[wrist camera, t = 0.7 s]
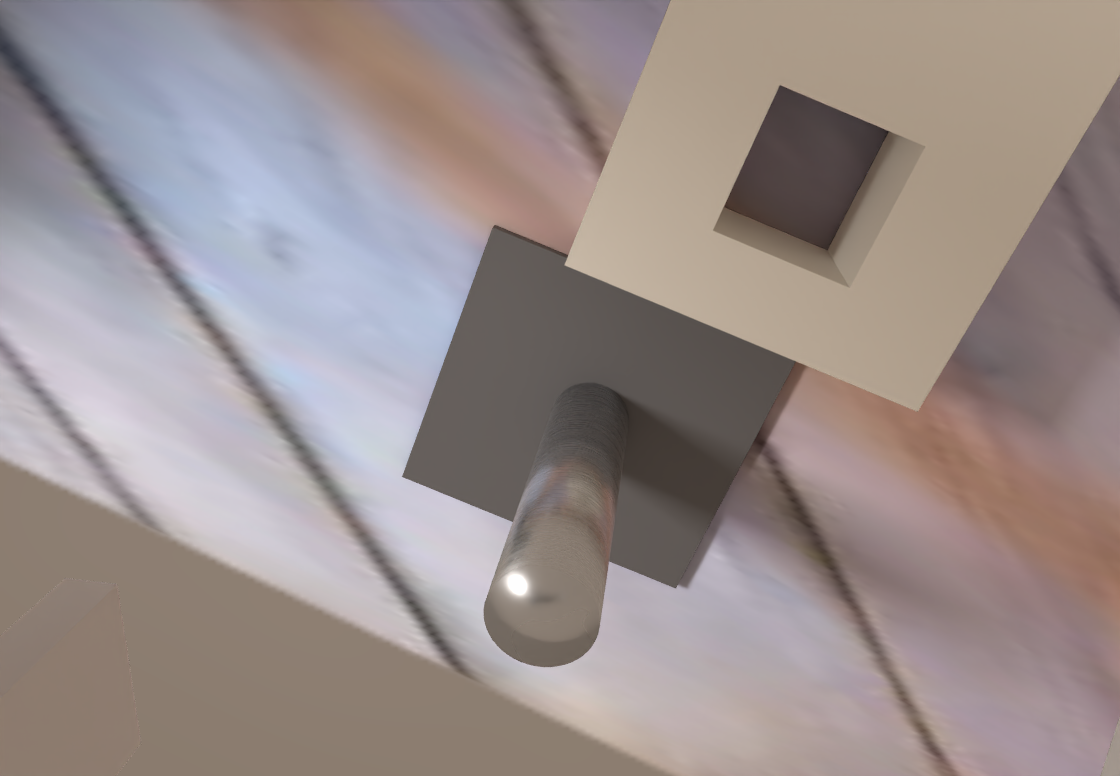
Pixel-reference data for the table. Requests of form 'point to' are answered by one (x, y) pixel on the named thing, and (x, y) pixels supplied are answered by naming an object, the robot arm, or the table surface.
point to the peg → (562, 533)
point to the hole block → (886, 192)
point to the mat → (604, 358)
